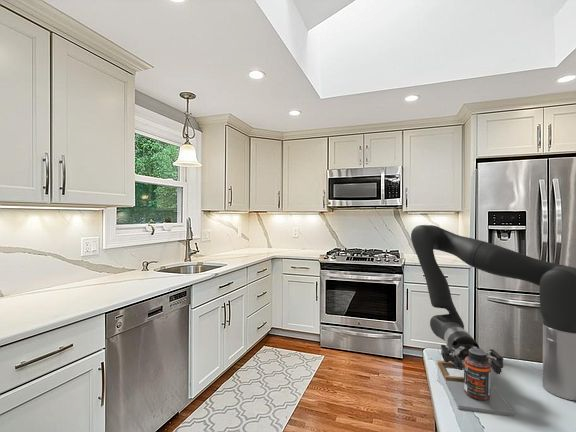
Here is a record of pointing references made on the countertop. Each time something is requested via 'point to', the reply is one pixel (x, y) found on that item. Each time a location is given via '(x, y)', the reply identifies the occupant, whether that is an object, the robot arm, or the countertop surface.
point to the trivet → (489, 406)
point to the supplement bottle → (477, 375)
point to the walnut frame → (444, 373)
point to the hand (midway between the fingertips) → (479, 368)
